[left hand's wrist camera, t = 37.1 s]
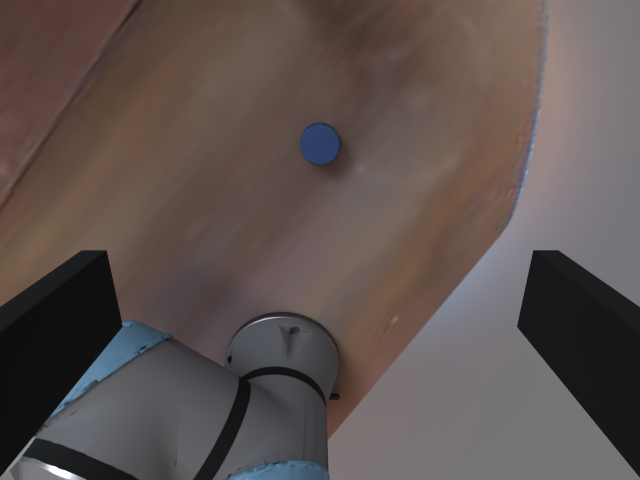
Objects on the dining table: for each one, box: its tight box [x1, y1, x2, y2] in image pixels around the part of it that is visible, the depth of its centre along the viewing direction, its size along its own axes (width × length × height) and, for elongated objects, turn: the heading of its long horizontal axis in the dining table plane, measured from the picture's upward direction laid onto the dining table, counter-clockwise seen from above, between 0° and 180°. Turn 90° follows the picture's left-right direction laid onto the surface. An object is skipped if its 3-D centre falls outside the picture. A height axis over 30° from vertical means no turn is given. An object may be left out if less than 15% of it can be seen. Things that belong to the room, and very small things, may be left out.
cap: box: [300, 123, 339, 165], centre depth 43 cm, size 4×4×2 cm
